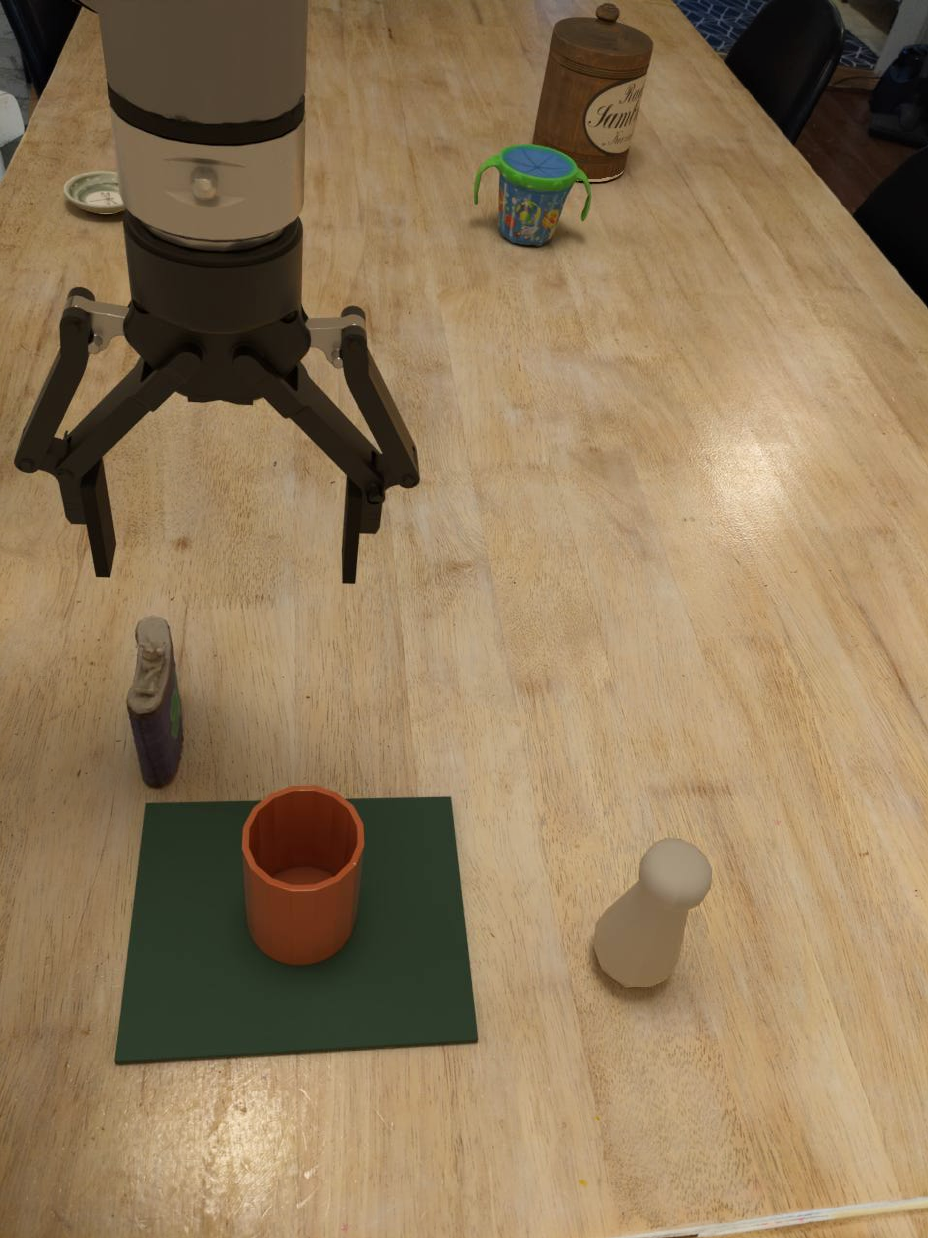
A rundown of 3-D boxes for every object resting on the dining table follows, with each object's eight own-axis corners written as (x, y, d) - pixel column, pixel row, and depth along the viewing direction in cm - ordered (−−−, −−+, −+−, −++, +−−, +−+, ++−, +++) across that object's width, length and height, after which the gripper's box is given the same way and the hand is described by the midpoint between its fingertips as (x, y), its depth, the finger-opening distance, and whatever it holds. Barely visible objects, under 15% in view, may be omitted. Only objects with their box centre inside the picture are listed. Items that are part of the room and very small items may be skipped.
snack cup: (583, 228, 144) (599, 155, 136) (578, 263, 136) (594, 188, 129) (474, 207, 144) (484, 133, 136) (463, 241, 137) (473, 165, 129)
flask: (148, 690, 80) (133, 596, 72) (186, 690, 81) (176, 596, 73) (138, 791, 74) (121, 699, 66) (180, 789, 75) (168, 698, 67)
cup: (245, 968, 66) (239, 893, 58) (249, 867, 70) (244, 786, 63) (357, 963, 67) (366, 888, 60) (354, 864, 72) (361, 784, 64)
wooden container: (598, 193, 152) (634, 31, 136) (513, 160, 156) (538, -1, 140) (639, 163, 161) (678, 8, 145) (557, 133, 166) (586, -21, 150)
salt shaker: (568, 950, 70) (612, 852, 60) (625, 904, 73) (676, 804, 63) (630, 1018, 67) (685, 927, 58) (686, 967, 70) (748, 873, 61)
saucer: (51, 198, 131) (48, 179, 129) (121, 182, 136) (118, 164, 134) (89, 230, 127) (86, 211, 125) (159, 213, 132) (157, 195, 130)
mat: (115, 1064, 61) (114, 1061, 61) (146, 806, 73) (145, 802, 73) (477, 1042, 65) (478, 1039, 64) (450, 799, 77) (451, 796, 76)
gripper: (-131, 228, 39) (-15, 606, 54) (513, 278, 43) (449, 616, 58) (-80, 142, 44) (13, 511, 59) (492, 193, 48) (439, 526, 63)
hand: (229, 564), depth 59 cm, fingers open, 13 cm apart
